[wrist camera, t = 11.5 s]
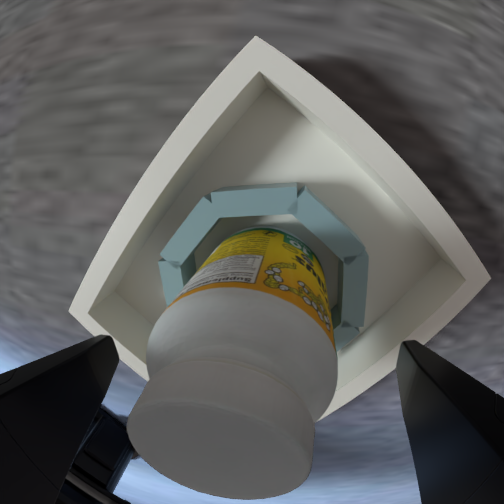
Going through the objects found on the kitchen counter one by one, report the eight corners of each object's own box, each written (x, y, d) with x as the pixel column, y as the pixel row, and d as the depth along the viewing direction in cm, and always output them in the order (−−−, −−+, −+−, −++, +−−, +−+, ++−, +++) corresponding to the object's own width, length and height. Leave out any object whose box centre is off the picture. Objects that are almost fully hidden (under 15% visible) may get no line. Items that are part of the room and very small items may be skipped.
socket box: (265, 411, 18) (258, 452, 15) (103, 284, 17) (68, 311, 13) (457, 252, 13) (491, 278, 10) (266, 62, 12) (255, 35, 8)
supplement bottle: (194, 241, 14) (53, 370, 5) (307, 208, 13) (320, 341, 4) (232, 338, 15) (167, 502, 6) (335, 316, 14) (355, 502, 5)
